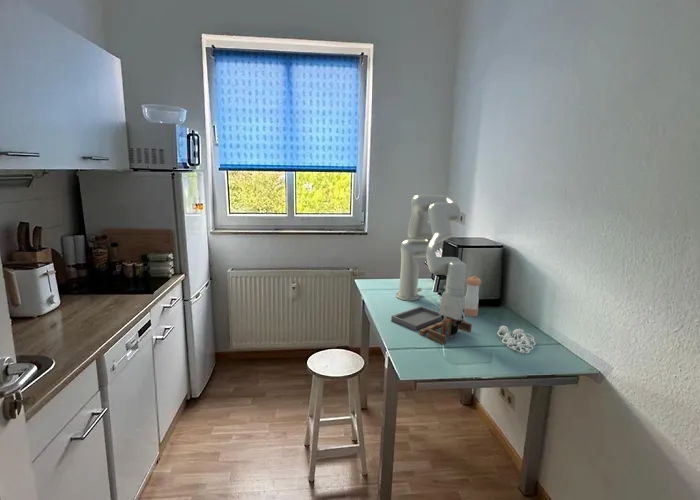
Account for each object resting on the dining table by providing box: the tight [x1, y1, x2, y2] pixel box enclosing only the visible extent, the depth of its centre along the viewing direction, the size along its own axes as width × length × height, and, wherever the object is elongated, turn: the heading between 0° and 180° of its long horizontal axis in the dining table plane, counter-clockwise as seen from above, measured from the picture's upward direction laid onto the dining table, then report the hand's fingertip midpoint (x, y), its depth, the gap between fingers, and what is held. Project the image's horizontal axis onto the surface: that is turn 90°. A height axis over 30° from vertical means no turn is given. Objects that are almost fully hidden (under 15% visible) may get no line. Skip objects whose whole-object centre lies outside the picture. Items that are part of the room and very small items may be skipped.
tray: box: [390, 305, 443, 332], centre depth 187 cm, size 22×14×2 cm, turn 134°
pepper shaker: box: [464, 275, 482, 317], centre depth 197 cm, size 7×7×19 cm
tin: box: [440, 317, 462, 340], centre depth 172 cm, size 15×3×8 cm, turn 142°
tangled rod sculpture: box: [496, 325, 537, 354], centre depth 168 cm, size 19×14×4 cm
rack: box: [419, 321, 473, 345], centre depth 174 cm, size 21×12×4 cm, turn 134°
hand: (450, 331), depth 173 cm, fingers closed on tin, 3 cm apart
